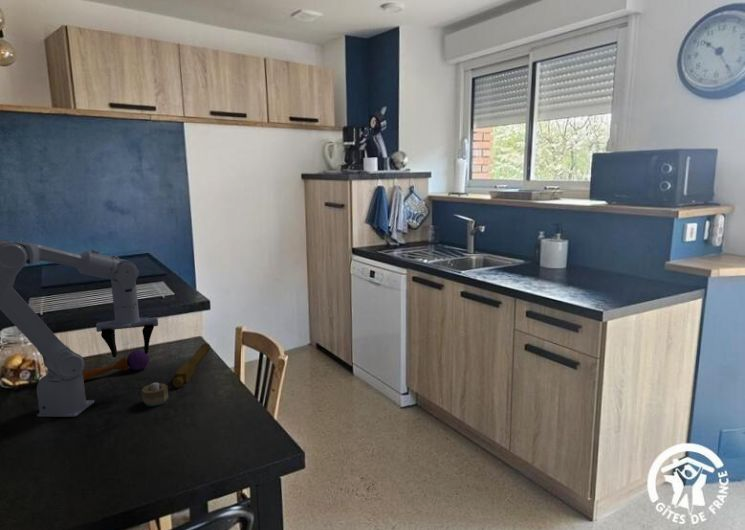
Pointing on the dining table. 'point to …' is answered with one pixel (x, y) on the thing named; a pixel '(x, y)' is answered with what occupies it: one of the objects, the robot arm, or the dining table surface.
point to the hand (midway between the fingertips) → (130, 354)
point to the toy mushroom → (153, 388)
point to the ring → (154, 394)
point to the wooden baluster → (190, 367)
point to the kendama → (122, 364)
